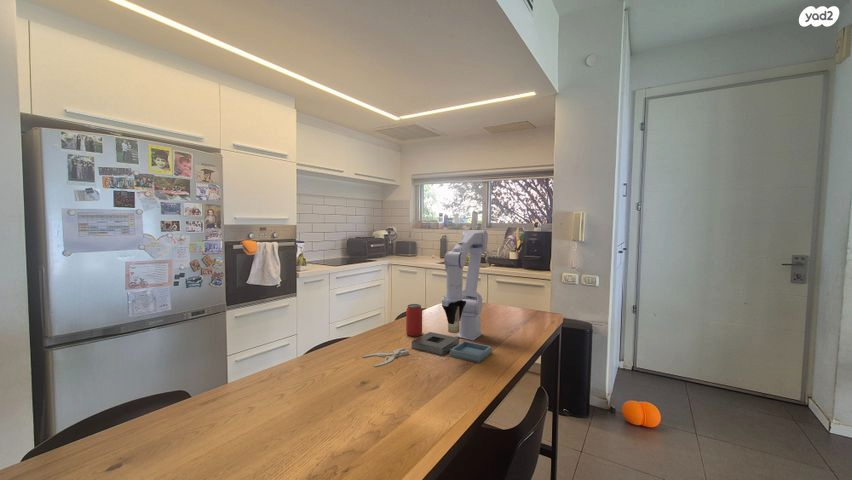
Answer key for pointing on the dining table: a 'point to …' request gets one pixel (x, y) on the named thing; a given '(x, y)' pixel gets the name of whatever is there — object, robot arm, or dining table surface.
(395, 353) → the pliers
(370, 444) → the dining table surface
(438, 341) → the hitch block
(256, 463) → the dining table surface
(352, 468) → the dining table surface
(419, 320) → the beer can
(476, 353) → the slate tray
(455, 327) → the birch peg
